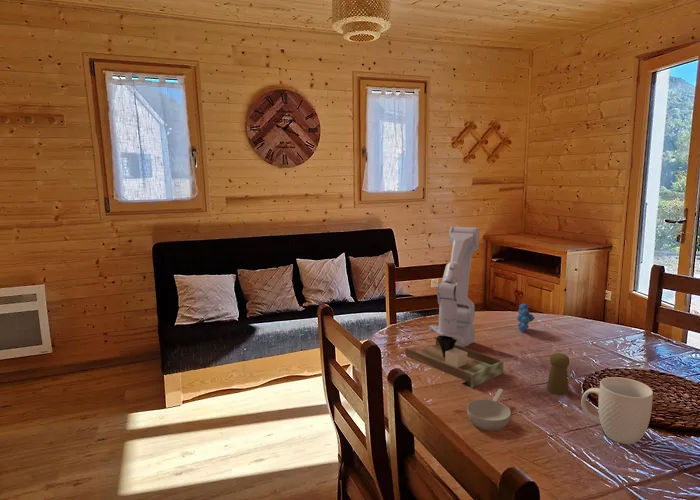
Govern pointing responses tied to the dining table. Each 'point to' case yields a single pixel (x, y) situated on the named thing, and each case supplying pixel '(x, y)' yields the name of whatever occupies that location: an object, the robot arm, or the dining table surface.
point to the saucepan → (489, 413)
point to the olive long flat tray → (469, 372)
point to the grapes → (524, 317)
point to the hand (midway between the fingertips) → (446, 357)
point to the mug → (622, 408)
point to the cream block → (456, 357)
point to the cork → (558, 374)
